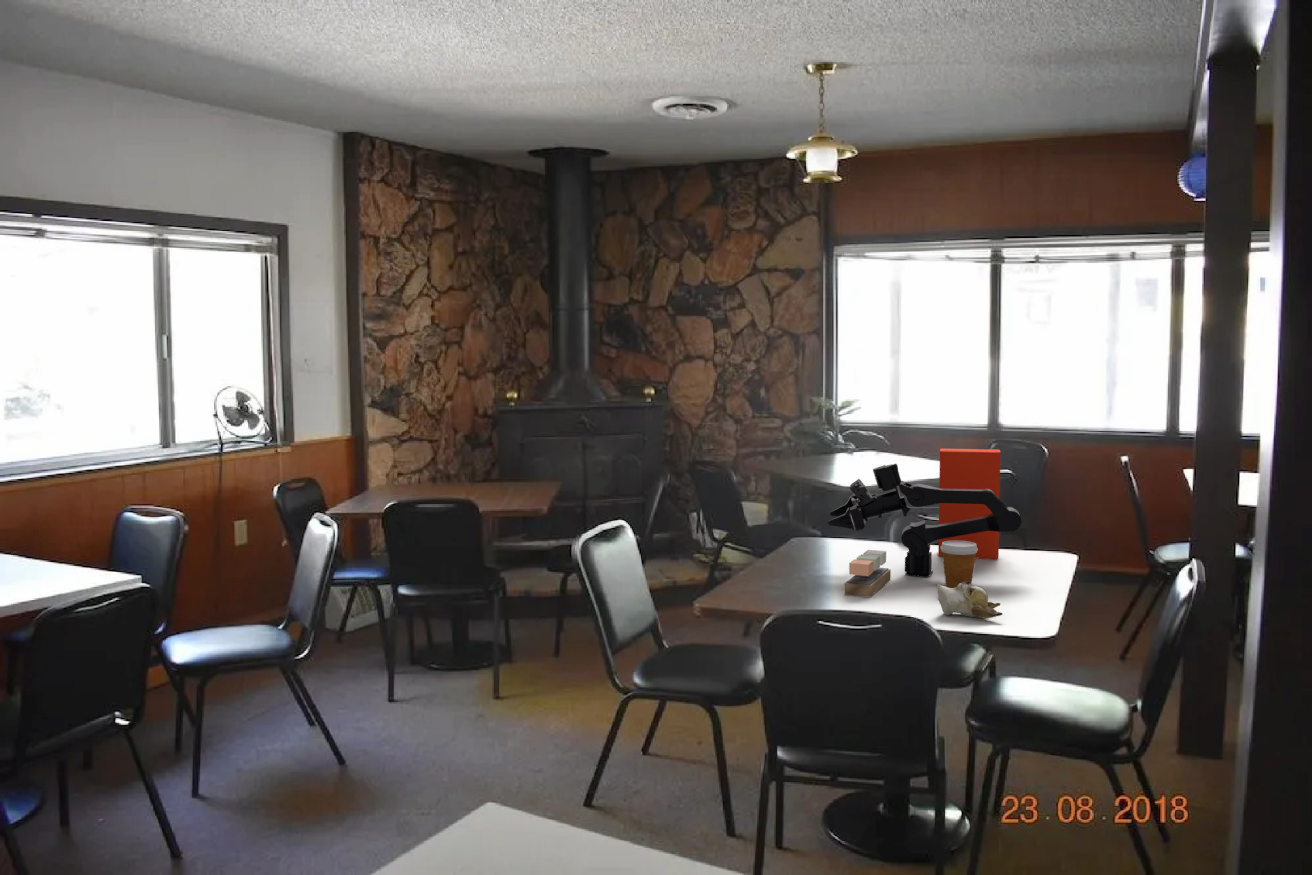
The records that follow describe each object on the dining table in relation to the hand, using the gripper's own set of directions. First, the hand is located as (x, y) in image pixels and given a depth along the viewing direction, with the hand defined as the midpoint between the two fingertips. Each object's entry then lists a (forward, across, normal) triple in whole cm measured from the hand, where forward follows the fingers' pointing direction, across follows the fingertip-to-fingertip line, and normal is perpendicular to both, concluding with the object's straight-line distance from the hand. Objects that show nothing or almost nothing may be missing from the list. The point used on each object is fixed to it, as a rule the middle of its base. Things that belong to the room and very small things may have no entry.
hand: (829, 518), depth 305 cm
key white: (-10, +14, +12) cm, 21 cm away
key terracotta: (-8, +27, +9) cm, 30 cm away
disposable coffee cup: (-29, +18, +23) cm, 41 cm away
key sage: (-9, +20, +10) cm, 24 cm away
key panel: (-7, +21, +15) cm, 27 cm away
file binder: (-33, -27, +29) cm, 51 cm away
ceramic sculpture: (-31, +46, +20) cm, 59 cm away
